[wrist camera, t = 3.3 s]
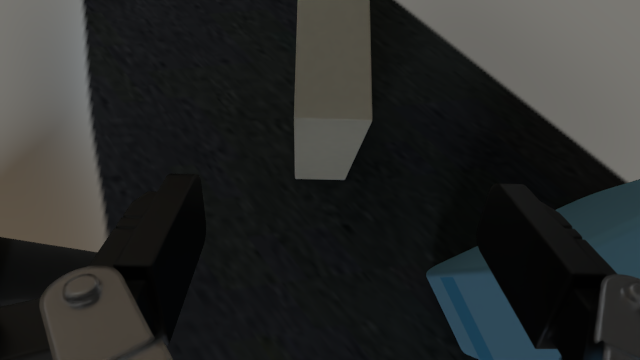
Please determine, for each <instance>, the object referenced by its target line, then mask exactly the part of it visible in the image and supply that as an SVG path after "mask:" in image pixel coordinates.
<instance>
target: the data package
mask: <svg viewBox="0 0 640 360" xmlns="http://www.w3.org/2000/svg"><path fill="white" fill-rule="evenodd" d="M555 211H557V212H559V213H560V214H561V215H562V216H563V217H564V218H565V219H566V220H567V221H568V222H569V223H570V224H571V225H572V229H575V230H576V231H577V232H578V233H579V234H580V235H581V236H582V239H583V240H586V241H587V242H588V243H589V244H590V245H591V246H592V247H593V248H594V249H595V251H596V252H597V253H598V254H599V255H600V256H601V257H602V258H603V259H604V260H605V261H606V262H607V263H608V264H609V265H610V266H611V267H612V268H613V269H614V270H615V272H616V273H617V274H622V275H629V276H633V277H636V278H639V279H640V179H639V180H636V181H633V182H629V183H626V184H623V185H619V186H616V187H613V188H609V189H606V190H603V191H600V192H597V193H594V194H591V195H589V196H586V197H584V198H581V199H579V200H576V201H574V202H572V203H569V204H567V205H565V206H563V207H561V208H559V209H556V210H555ZM426 276H427V279H428V281H429V283H430V285H431V287H432V289H433V291H434V293H435V295H436V297H437V300H438V302H439V304H440V306H441V308H442V310H443V312H444V314H445V316H446V318H447V320H448V323H449V325H450V327H451V329H452V331H453V333H454V335H455V337H456V339H457V341H458V343H459V346H460V348H461V350H462V351H463V352H464V353H465V354H467V355H470V356H472V357H474V358H477V359H479V360H559V358H560V356H561V354H560V353H559V351H558V349H535V348H534V346H533V344H532V342H531V340H530V339H529V337H528V335H527V333H526V332H525V330H524V328H523V326H522V325H521V323H520V321H519V319H518V318H517V316H516V314H515V312H514V311H513V309H512V307H511V305H510V304H509V302H508V300H507V298H506V297H505V295H504V293H503V291H502V290H501V288H500V286H499V284H498V282H497V281H496V279H495V277H494V275H493V274H492V272H491V270H490V268H489V267H488V265H487V263H486V261H485V260H484V258H483V256H482V254H481V253H480V251H479V248H478V246H476V247H474V248H472V249H470V250H468V251H466V252H463V253H461V254H459V255H457V256H455V257H453V258H450V259H448V260H446V261H444V262H442V263H440V264H438V265H436V266H434V267H432V268H431V269H429V270H428V271H427V274H426Z"/></svg>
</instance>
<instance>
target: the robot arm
mask: <svg viewBox="0 0 640 360" xmlns="http://www.w3.org/2000/svg"><path fill="white" fill-rule="evenodd" d="M205 235H206V220H205V211H204V203H203V195H202V186H201V180H200V177H199V175H197V174H169V175H168V176H167V177H166V179H165V180H164V182H163V184H162V185H161V187H160V189H159V190H158V192H146V193H145V194H144V195H142V196H141V197H139V198H138V199H136V200H135V201H133V202H132V203H131V205H130V206H129V208H128V209H127V211H126V212H125V214H124V215H123V218H121V219H120V221H119V222H118V224H117V225H116V229H114V230H113V231H112V232H111V234H110V235H109V237H108V238H107V240H106V241H105V243H104V244H103V246H102V247H101V249H100V250H99V252H98V253H97V254H96V256H95V257H94V259H93V260H92V262H91V263H90V265H89V266H88V267H84V268H80V269H77V270H74V271H72V272H69V273H67V274H65V275H63V276H62V277H60V278H59V279H57V280H56V281H54V282H53V283H52V284H51V285H50V286H49V287H48V288H47V289H46V290H45V291H44V293H43V294H42V296H41V298H39V299H35V300H30V301H25V302H21V303H16V304H11V305H7V306H2V307H0V360H173V359H172V357H171V355H170V353H169V351H168V349H167V348H166V346H165V345H169V343H170V340H171V337H172V334H173V331H174V329H175V326H176V323H177V320H178V317H179V314H180V311H181V308H182V306H183V303H184V300H185V297H186V294H187V291H188V288H189V285H190V283H191V280H192V277H193V274H194V271H195V268H196V265H197V262H198V260H199V257H200V254H201V251H202V248H203V245H204V241H205ZM477 245H478V248H479V251H480V253H481V254H482V256H483V258H484V260H485V261H486V263H487V265H488V267H489V268H490V270H491V272H492V274H493V275H494V277H495V279H496V281H497V282H498V284H499V286H500V288H501V290H502V291H503V293H504V295H505V297H506V298H507V300H508V302H509V304H510V305H511V307H512V309H513V311H514V312H515V314H516V316H517V318H518V319H519V321H520V323H521V325H522V326H523V328H524V330H525V332H526V333H527V335H528V337H529V339H530V340H531V342H532V344H533V346H534V348H535V349H558V351H559V353H560V354H561V356H560V358H559V360H640V279H639V278H636V277H633V276H629V275H622V274H617V273H616V272H615V270H614V269H613V268H612V267H611V266H610V265H609V264H608V263H607V262H606V261H605V260H604V259H603V258H602V257H601V256H600V255H599V254H598V253H597V252H596V251H595V249H594V248H593V247H592V246H591V245H590V244H589V243H588V242H587V241H586V240H583V239H582V236H581V235H580V234H579V233H578V232H577V231H576V230H575V229H572V225H571V224H570V223H569V222H568V221H567V220H566V219H565V218H564V217H563V216H562V215H561V214H560V213H559V212H557V211H555V210H554V209H552V208H551V207H549V206H547V205H546V204H544V203H543V202H540V201H539V200H538V198H537V197H536V196H535V195H534V194H533V193H532V192H531V191H530V190H529V189H528V188H527V187H526V186H525V185H523V184H494V185H492V187H491V188H490V190H489V193H488V196H487V199H486V203H485V206H484V209H483V212H482V216H481V219H480V222H479V225H478V229H477Z"/></svg>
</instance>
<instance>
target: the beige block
mask: <svg viewBox="0 0 640 360" xmlns="http://www.w3.org/2000/svg"><path fill="white" fill-rule="evenodd" d="M371 122H372V77H371V33H370V0H298V7H297V39H296V71H295V104H294V147H295V179H323V180H345V178H346V176H347V174H348V172H349V170H350V168H351V165H352V163H353V161H354V159H355V157H356V155H357V152H358V150H359V148H360V146H361V144H362V142H363V140H364V137H365V135H366V133H367V131H368V129H369V127H370V124H371Z"/></svg>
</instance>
